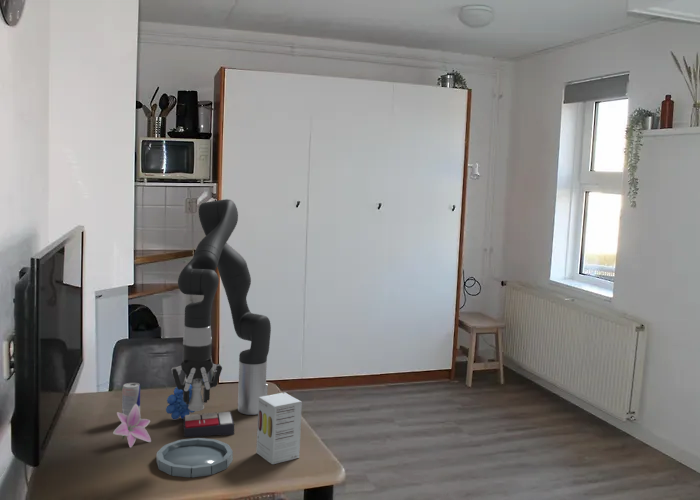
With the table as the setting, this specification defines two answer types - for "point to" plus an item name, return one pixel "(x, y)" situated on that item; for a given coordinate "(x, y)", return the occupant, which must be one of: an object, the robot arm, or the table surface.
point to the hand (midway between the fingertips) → (196, 402)
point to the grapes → (178, 404)
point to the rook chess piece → (196, 396)
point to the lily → (133, 426)
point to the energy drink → (130, 397)
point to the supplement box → (279, 427)
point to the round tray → (194, 457)
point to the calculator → (208, 424)
